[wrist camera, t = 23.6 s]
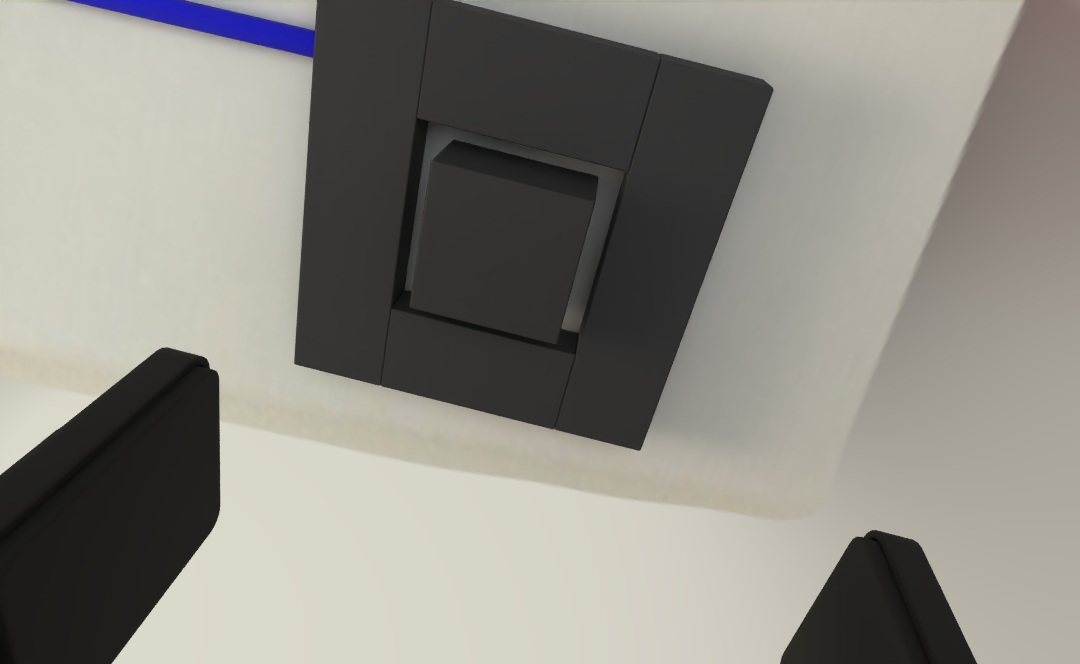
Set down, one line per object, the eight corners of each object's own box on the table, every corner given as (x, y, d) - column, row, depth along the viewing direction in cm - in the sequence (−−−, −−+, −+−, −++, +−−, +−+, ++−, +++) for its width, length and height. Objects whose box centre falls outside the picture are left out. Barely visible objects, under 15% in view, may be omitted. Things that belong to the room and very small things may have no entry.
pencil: (451, 60, 27) (445, 64, 26) (448, 85, 27) (442, 89, 26) (20, -40, 27) (-1, -40, 26) (24, -14, 27) (4, -13, 26)
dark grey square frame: (764, 79, 26) (775, 87, 24) (639, 426, 33) (640, 451, 31) (339, -29, 25) (318, -29, 24) (311, 343, 33) (293, 364, 31)
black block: (599, 176, 28) (595, 202, 25) (563, 307, 31) (556, 345, 28) (452, 139, 28) (430, 160, 25) (430, 274, 31) (408, 308, 28)
